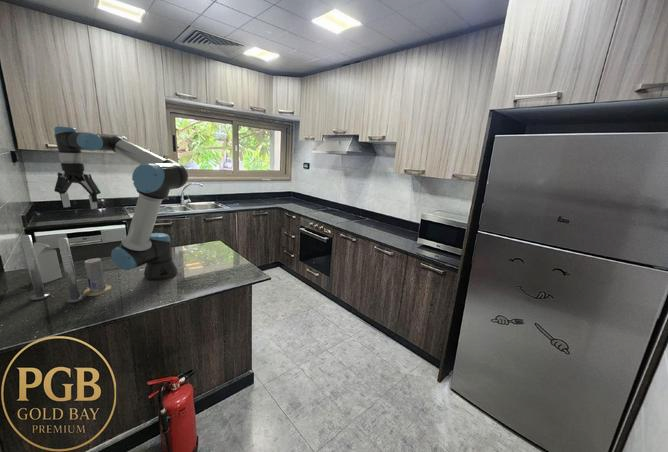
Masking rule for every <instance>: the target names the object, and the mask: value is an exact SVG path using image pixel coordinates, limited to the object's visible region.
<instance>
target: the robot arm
mask: <svg viewBox="0 0 668 452" xmlns="http://www.w3.org/2000/svg"><path fill="white" fill-rule="evenodd" d="M53 129H54V138H55V143H56V146H57V151H58V156H59V162H61V163H60V166H61V171H62V172H61V171H59V172H57V179H56V183H55V185H54V186H55V187H54V192H55V193H58V194H59V196H60V200H61V201H62V205H63V208H70V207H71V202H70V196H69V193H68V190H69V188H70V187H71V186H72V184H79V185H80V186H81V187H82V188H83V189H84V190H85V191H86V192H87V193H88V194H89V195H88V199H89V204H90V210H95V209H98V197H97V196H98V195H99V194H101V193H102V192H101V190H100V189H99V187H98V185H97V184H96V183H95V181H94V179H93V178H92V174H91V173H84V171H85V166H84V163H83V162H84V159H83V154H82V151H89V152H91V151H92V152H95V151H98V152H99V151H104V152H105V151H107V152H108V151H109V152H114V153H115V154H118V155H120V156H122V157H124V158H126V159H129V160H130V161H133V162H134V163H136V164H138V165H137V166H136V167H135V168H134V169H133V172H132V178H131V180H132V181H133V183H132V184H133V186H134V188H135V190H136V192H137V193H138V197H137V202H136V204H135V207H134V212H133V216H132V218H131V223H130V226H129V229H128V234H127V235H126V236H124V237H123V238H122V240H121V241H120V245H119V246H117V247H115V248H113V249H112V250H111V259H112V260H113V262H114V264H115V265H116V266H117V267H118V268H119V269H121V270H124V271H130V270H133V269H137V268H139V267H141V266H143V265H145V269H144V272H143V273H144V274H143V277H144V280H146V281H150V282H160V281H164V280H169V279H171V278H174V277H175V276H177V275H178V268H177V266H176V264H175V262H174V259H173V253H172V252H173V251H172V242H171V237H170V235H169V234H167V233H163V232H162V233H161V232H154V233H153V229H154V227H155V223H156V221H157V217H158V214H159V212H160V208H161V205H162V202H163V200H166V199H167V198H168V196H169V193H170V191H171V190H175V189H181V188H183V187H184V186H185V185H186V184H187V182H188V180H189V174H188V170H187V169H186V167H185V166H183V164H181V163H179V162H177V161H175V160H172V159H171V158H167V159H166V158H163V157H162V156H159V155H157V154H155V153H153V152H151V151H149V150H147V149H145V148H143V147H141V146H138V145H136V144H134V143H132V142H130V140H129V139H128V138H127V136H124V135H120V134H119V135H118V134H106V133H94V132H87V131H86V132H82V131H81V132H79V131H78V130H77V128H76V127H69V126H54V128H53Z"/></svg>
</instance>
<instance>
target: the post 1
mask: <svg viewBox="0 0 668 452" xmlns="http://www.w3.org/2000/svg"><path fill="white" fill-rule="evenodd" d="M19 238H20V241H21V245H22V249H23V253H24V257H25V261H26V265H27V268H28V272H29V276H30V279H31V280H30V281H31V284H32V288H33V292H34V294H33V295H31V296H30V300H31V301H32V302H37V301H38V302H39V301H42V300H45V299H48V298H50V297H51V295H52V293H51V292H49V291H45V287H44V283H43V282H42V278H41V274H40V270H39V266H38V262H37V258H36V254H35V249H34V243H33V238H32V235H31V234H23V235H20V236H19Z"/></svg>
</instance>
